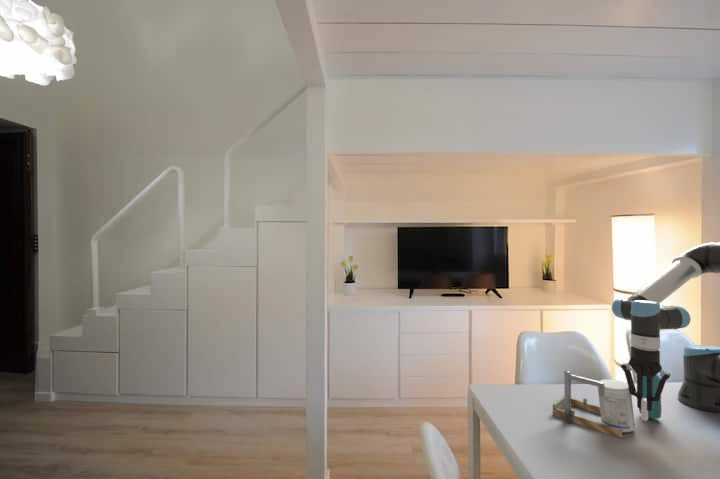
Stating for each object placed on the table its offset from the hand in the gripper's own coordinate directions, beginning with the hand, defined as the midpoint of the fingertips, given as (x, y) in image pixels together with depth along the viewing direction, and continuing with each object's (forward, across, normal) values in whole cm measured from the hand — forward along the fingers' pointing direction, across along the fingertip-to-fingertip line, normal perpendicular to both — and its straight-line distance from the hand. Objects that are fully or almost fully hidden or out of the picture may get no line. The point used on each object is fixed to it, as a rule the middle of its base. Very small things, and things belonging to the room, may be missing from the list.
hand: (644, 419), depth 116 cm
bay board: (+6, -15, +1) cm, 17 cm away
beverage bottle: (+6, -1, +17) cm, 18 cm away
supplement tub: (+6, -7, +1) cm, 9 cm away
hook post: (+6, -15, -8) cm, 19 cm away
